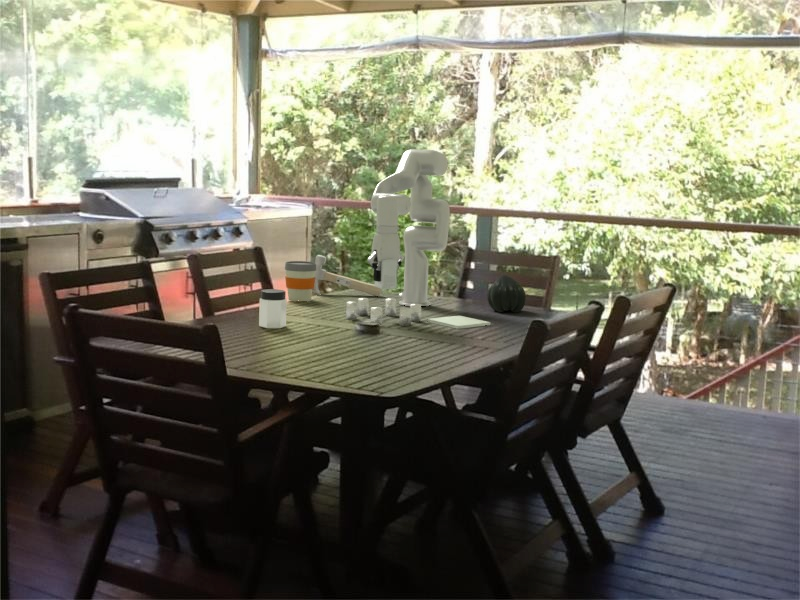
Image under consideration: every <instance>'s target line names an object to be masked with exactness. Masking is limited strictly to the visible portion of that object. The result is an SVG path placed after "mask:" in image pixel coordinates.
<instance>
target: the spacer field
mask: <svg viewBox="0 0 800 600" xmlns="http://www.w3.org/2000/svg"><path fill="white" fill-rule="evenodd" d="M369 302H370V299H369V298H367V297H359V298H357V301H354V300H353V301H352V300H351V301H349V300H348V301H346V305H345V307H346V308H345V310H346V311H345V319H346V320H350V321H351V320H352V321H353V320H358V316H362V317H365V316H366V315H367V316H369V311H370V318H369V319H370V321H374V322H377V323H379V324H380V325H381V326H382V325H383V307H381V306H372V307H370V310H369V306H370V303H369ZM384 306H385V307H384V309H385V310H384V316H386V315H388V316H387V317H395V315H397V299H396V298H394V297H393V298H391V297H387V298H386V297H385V305H384ZM367 316H366V317H367ZM370 321H369V322H370ZM412 321H414V322H413V323H420V322H421V321H422V307H421V304H410V306H402V307H399V321H398V322H399V324H398V325H399V326H400V325H401V327H411V326H412ZM419 321H420V322H419Z"/></svg>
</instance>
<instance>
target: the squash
mask: <svg viewBox="0 0 800 600" xmlns="http://www.w3.org/2000/svg"><path fill="white" fill-rule="evenodd" d="M486 294H487V295H486V296H487V297H486V298H487V302H488V305H489V307H490V308H491V309H492V310H493V311H495V310H496V311H495V312H499V313H504V312H507V311H510V312H512V313H519V312H521V311H522V310H523V308H524V307H525V304H526V301H527V299H526V297H527V295H526V292H525V289H524V287H523V286H522V285H521V283H520V282H519V281H518V280H516V279H514V278H513V277H511V276H509V275H507V274H502V275H500V276H499V277H497V279H496V280H495V281H494V282H493V283H492V284H491V285H490V286H489V288H488V290H487V293H486Z"/></svg>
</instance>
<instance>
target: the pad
mask: <svg viewBox="0 0 800 600" xmlns="http://www.w3.org/2000/svg"><path fill="white" fill-rule="evenodd" d="M427 321H428V322H427ZM426 322H427V323H432V324H436V325H441V326H445V327H449V328H453V329H457V330H460V329H467V328H468V329H469V328H476V327H486V326H485V325H487V326H491V321H486V320H482V319H478V318H472V317H467V316H463V315H453V316H452V315H451V316H443V317H442V316H441V317H433V318H431V317H430V318H427V319H426Z"/></svg>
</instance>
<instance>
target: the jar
mask: <svg viewBox="0 0 800 600" xmlns="http://www.w3.org/2000/svg"><path fill="white" fill-rule="evenodd" d="M258 306H259V309H258V311H259V312H258V313H259V314H258V326H259V327H261V328H264V329H281V328H285V327H286V326H287V297H286V291H285V290H283V289H276V288H275V289H273V288H269V289H267V288H266V289H262V290H260V297H259V305H258Z"/></svg>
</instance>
